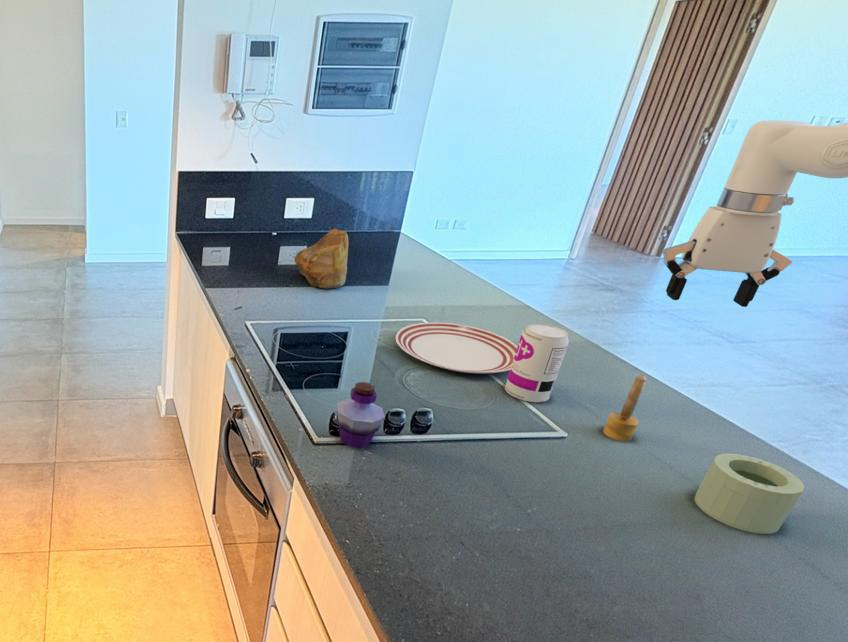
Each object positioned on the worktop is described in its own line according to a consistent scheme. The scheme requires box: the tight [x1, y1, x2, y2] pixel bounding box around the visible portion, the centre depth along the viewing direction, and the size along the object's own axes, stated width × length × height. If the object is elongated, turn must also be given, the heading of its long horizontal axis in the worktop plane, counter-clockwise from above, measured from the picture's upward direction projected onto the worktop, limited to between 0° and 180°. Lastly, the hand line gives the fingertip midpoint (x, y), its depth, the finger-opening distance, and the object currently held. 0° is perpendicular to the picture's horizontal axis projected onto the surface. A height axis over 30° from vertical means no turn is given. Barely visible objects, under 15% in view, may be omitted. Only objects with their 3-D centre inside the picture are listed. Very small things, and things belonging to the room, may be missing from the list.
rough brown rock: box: [294, 228, 350, 290], centre depth 195 cm, size 23×17×15 cm
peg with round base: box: [602, 375, 647, 442], centre depth 113 cm, size 4×4×13 cm
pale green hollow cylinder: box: [694, 453, 805, 535], centre depth 95 cm, size 10×10×8 cm
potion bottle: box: [336, 381, 386, 449], centre depth 112 cm, size 9×9×12 cm
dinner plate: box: [395, 321, 518, 375], centre depth 147 cm, size 28×27×3 cm
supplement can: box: [504, 323, 570, 403], centre depth 127 cm, size 8×8×15 cm
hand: (705, 300), depth 108 cm, fingers open, 9 cm apart
